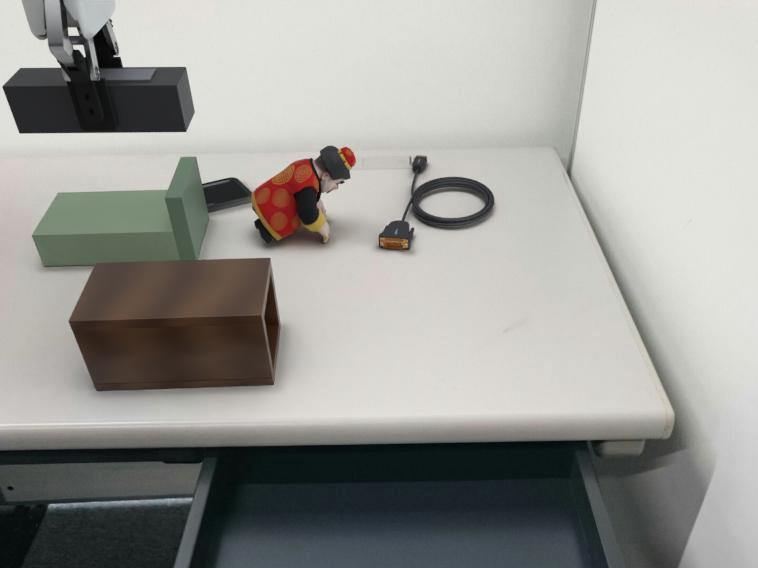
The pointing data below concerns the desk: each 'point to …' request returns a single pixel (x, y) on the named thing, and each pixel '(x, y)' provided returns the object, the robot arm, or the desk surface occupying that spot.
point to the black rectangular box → (127, 92)
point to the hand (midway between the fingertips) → (107, 115)
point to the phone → (225, 194)
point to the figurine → (300, 194)
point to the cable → (398, 230)
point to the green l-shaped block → (126, 223)
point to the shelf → (179, 324)
